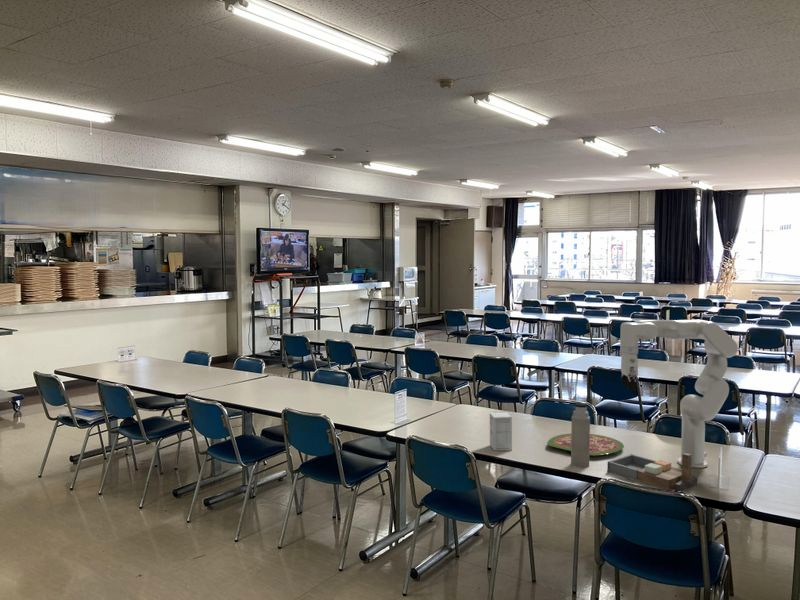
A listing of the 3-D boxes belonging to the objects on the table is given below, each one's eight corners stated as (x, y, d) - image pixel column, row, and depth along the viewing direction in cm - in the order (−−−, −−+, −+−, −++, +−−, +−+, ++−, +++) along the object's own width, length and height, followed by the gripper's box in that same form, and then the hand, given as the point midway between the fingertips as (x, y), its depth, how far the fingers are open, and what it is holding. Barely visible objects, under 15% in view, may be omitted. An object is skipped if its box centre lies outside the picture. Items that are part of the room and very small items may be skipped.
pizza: (537, 447, 312) (537, 443, 311) (572, 433, 336) (572, 429, 336) (602, 463, 287) (602, 458, 287) (636, 447, 312) (636, 442, 312)
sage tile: (651, 468, 267) (651, 463, 267) (662, 471, 263) (662, 466, 263) (644, 471, 264) (644, 465, 264) (655, 474, 260) (655, 468, 260)
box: (631, 463, 286) (631, 454, 286) (659, 471, 275) (659, 461, 275) (607, 471, 275) (607, 461, 275) (636, 480, 264) (636, 470, 264)
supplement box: (507, 445, 316) (508, 412, 315) (512, 450, 306) (512, 416, 305) (489, 445, 315) (489, 412, 314) (493, 451, 306) (493, 417, 305)
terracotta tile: (660, 465, 271) (660, 459, 271) (671, 468, 267) (671, 462, 267) (653, 467, 268) (653, 462, 268) (664, 470, 264) (664, 465, 264)
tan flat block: (658, 472, 274) (658, 463, 274) (689, 481, 263) (689, 472, 263) (637, 480, 265) (637, 470, 265) (668, 489, 254) (668, 480, 253)
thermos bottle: (589, 462, 287) (590, 402, 286) (589, 468, 280) (590, 406, 278) (571, 461, 290) (571, 401, 288) (570, 467, 282) (571, 405, 280)
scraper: (692, 483, 261) (692, 450, 260) (697, 485, 259) (698, 451, 258) (673, 490, 253) (674, 456, 252) (679, 492, 251) (680, 458, 250)
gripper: (644, 353, 270) (643, 392, 271) (631, 347, 287) (630, 384, 288) (626, 353, 270) (625, 392, 271) (615, 347, 287) (614, 384, 288)
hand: (628, 388), depth 280 cm, fingers open, 9 cm apart
